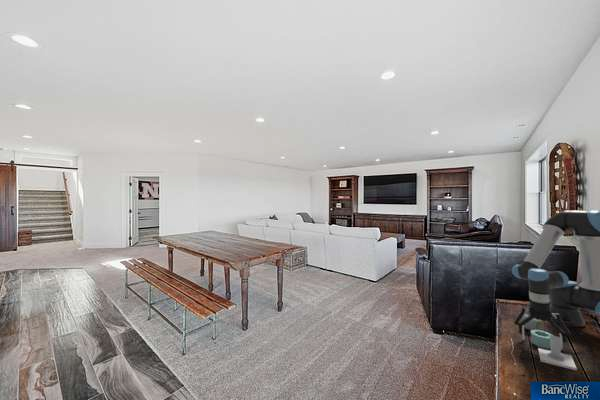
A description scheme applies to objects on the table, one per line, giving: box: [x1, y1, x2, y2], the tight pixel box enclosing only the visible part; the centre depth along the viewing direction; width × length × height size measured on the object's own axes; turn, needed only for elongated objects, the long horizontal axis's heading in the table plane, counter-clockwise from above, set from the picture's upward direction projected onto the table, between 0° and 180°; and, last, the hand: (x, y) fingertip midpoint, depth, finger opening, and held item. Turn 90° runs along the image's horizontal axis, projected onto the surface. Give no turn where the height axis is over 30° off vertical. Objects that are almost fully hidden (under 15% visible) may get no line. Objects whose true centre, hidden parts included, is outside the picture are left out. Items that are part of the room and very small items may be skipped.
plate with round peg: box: [537, 334, 578, 372], centre depth 114 cm, size 11×11×10 cm
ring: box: [530, 330, 553, 350], centre depth 126 cm, size 8×8×5 cm
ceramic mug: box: [519, 313, 546, 332], centre depth 139 cm, size 11×8×8 cm
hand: (541, 343), depth 126 cm, fingers open, 13 cm apart
